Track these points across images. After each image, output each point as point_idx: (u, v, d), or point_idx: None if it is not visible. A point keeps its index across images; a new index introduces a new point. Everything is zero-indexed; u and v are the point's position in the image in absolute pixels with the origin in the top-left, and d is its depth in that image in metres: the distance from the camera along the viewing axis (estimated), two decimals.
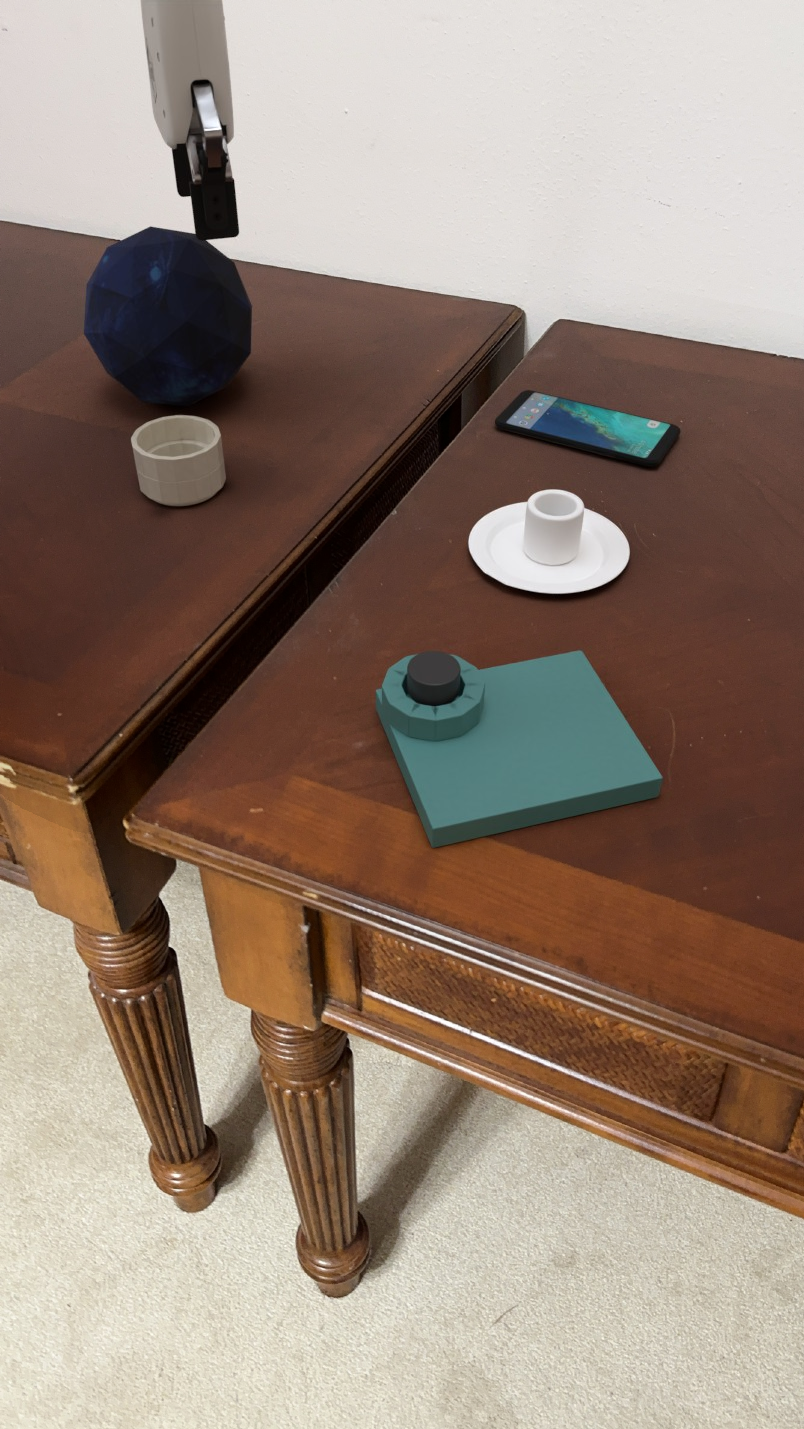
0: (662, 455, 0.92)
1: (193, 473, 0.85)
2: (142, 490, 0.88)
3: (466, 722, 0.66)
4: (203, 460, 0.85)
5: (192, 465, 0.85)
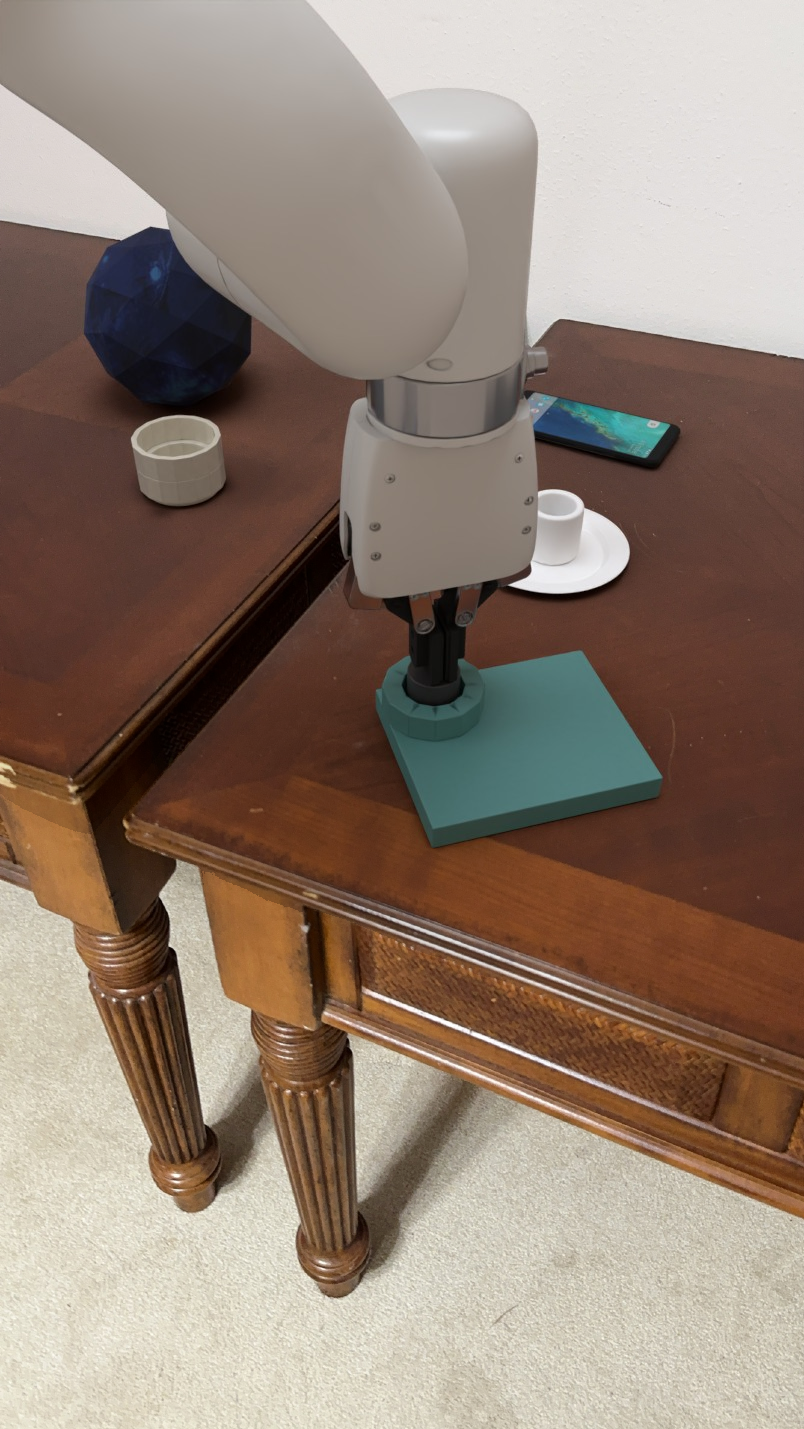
0: (662, 455, 0.92)
1: (193, 473, 0.85)
2: (142, 490, 0.88)
3: (466, 722, 0.66)
4: (203, 460, 0.85)
5: (192, 465, 0.85)
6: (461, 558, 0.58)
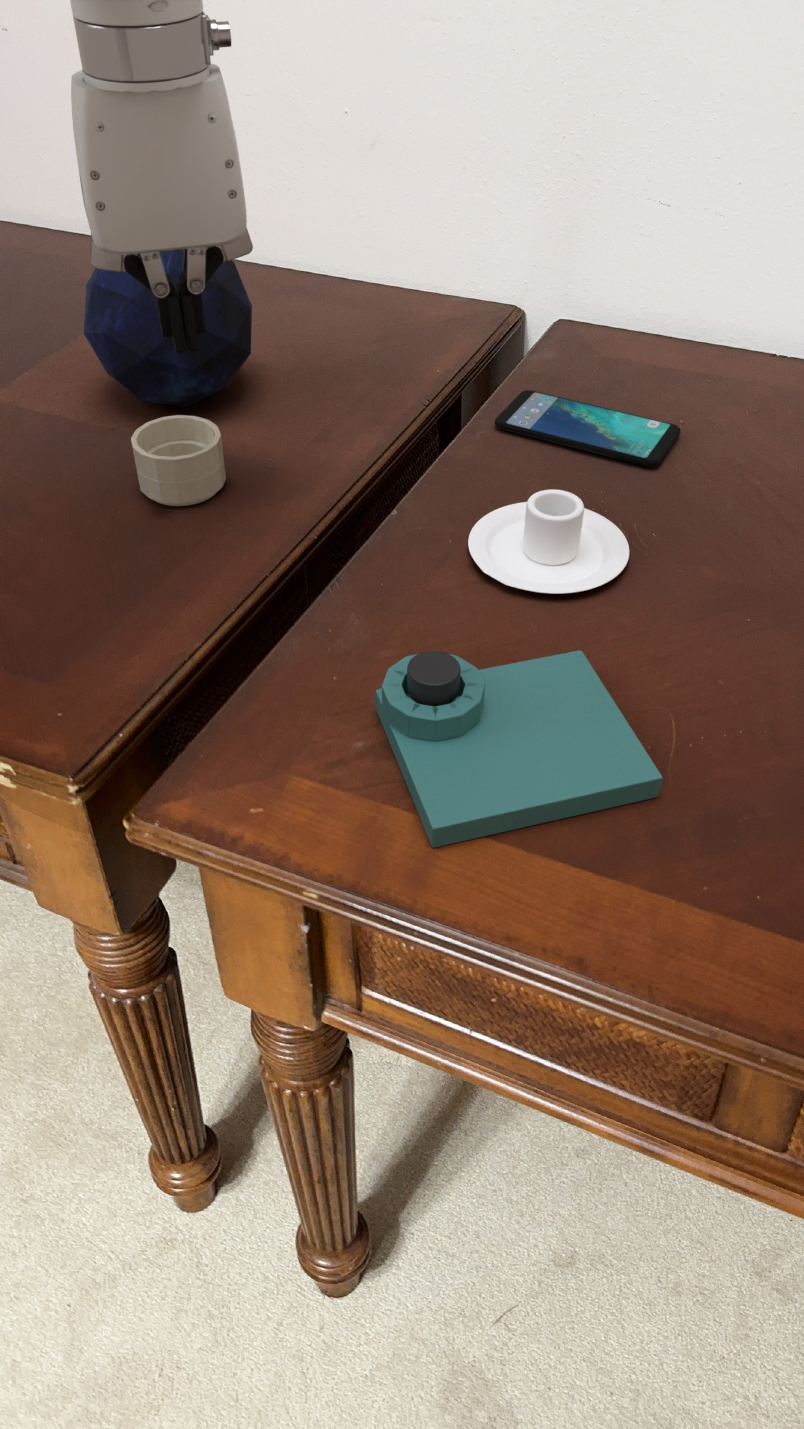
0: (662, 455, 0.92)
1: (193, 473, 0.85)
2: (142, 490, 0.88)
3: (466, 722, 0.66)
4: (203, 460, 0.85)
5: (192, 465, 0.85)
6: (177, 215, 0.70)
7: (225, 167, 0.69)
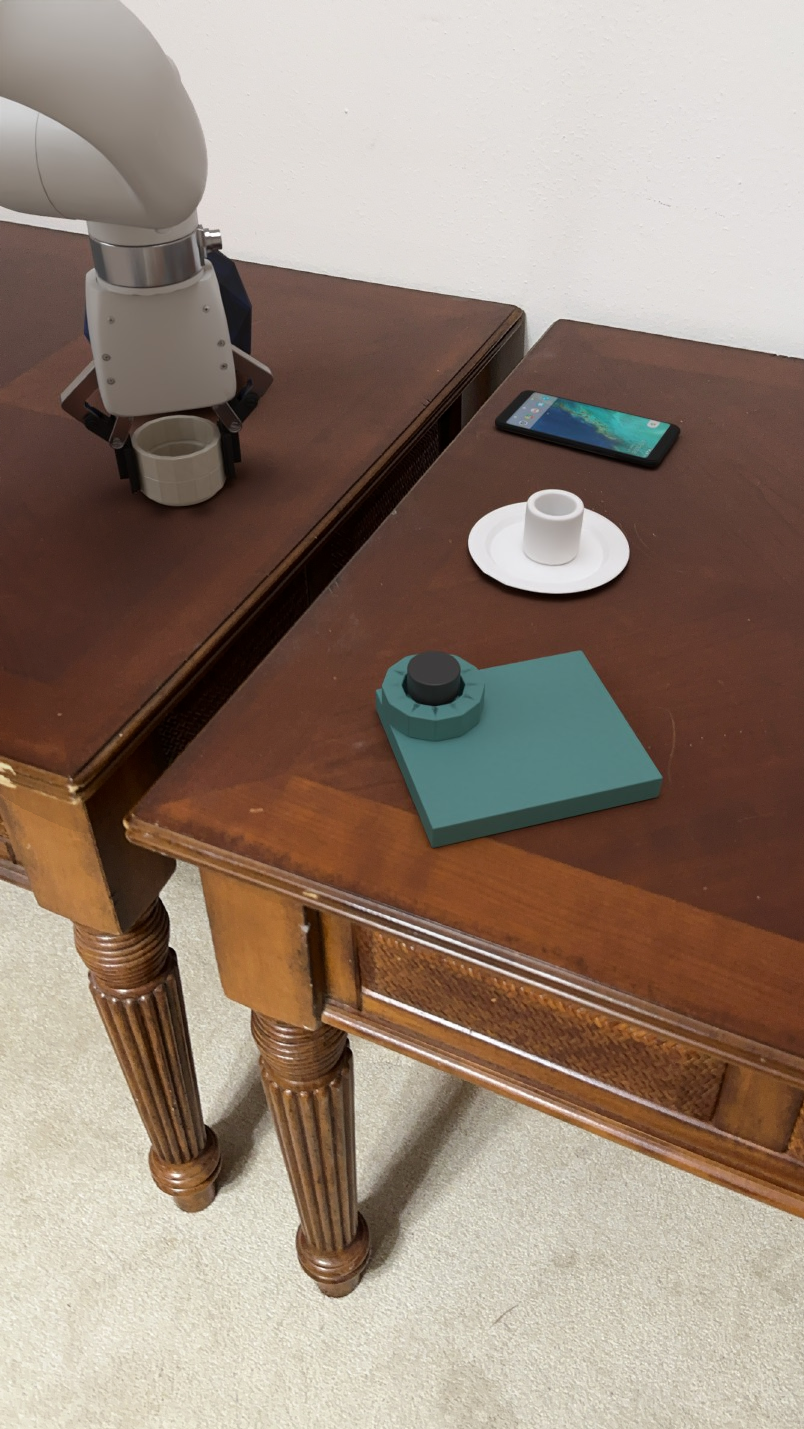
0: (662, 455, 0.92)
1: (193, 473, 0.85)
2: (142, 490, 0.88)
3: (466, 722, 0.66)
4: (203, 460, 0.85)
5: (192, 465, 0.85)
6: (176, 386, 0.81)
7: (217, 346, 0.80)
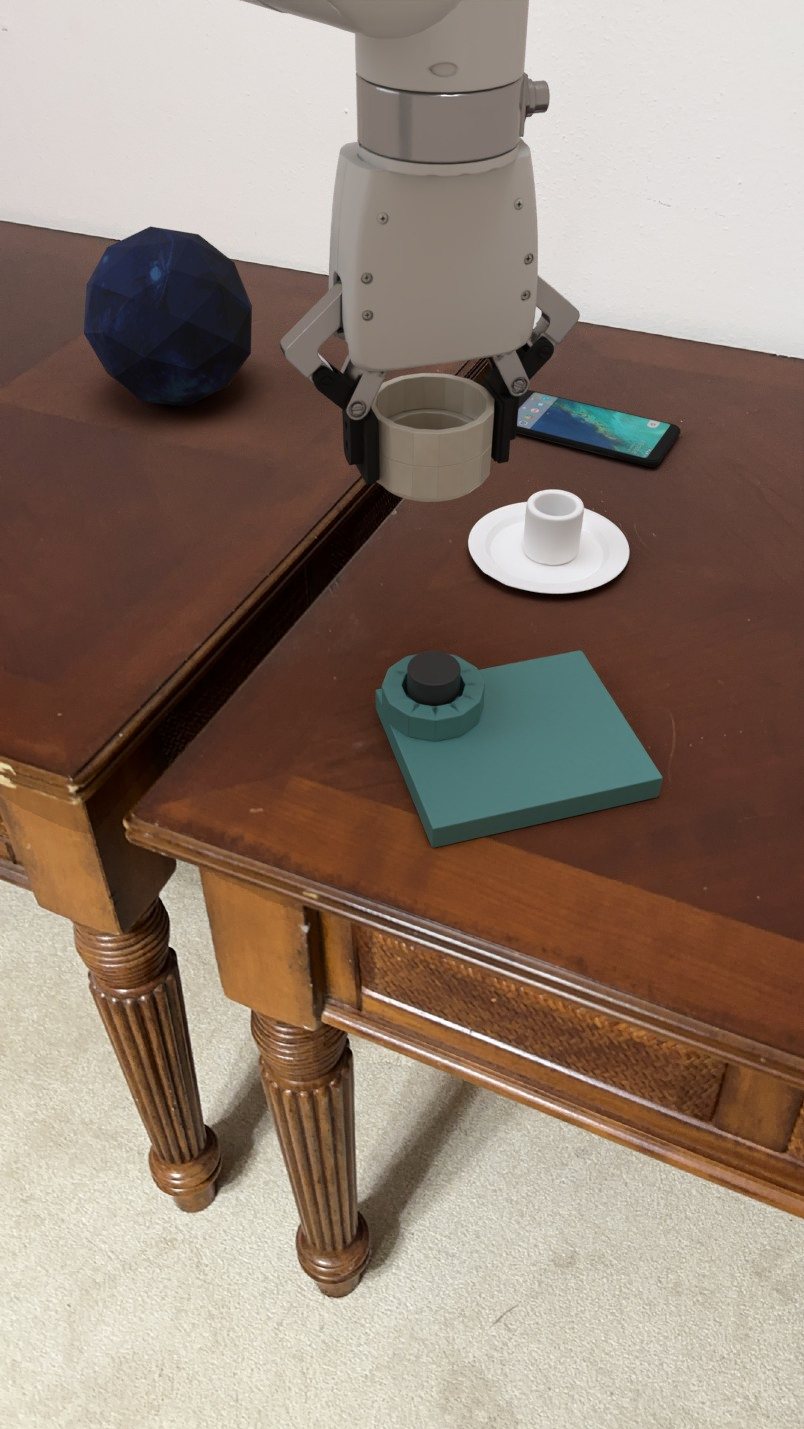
0: (662, 455, 0.92)
1: (463, 454, 0.59)
2: (379, 480, 0.61)
3: (466, 722, 0.66)
4: (477, 435, 0.59)
5: (463, 442, 0.58)
6: (457, 324, 0.55)
7: (523, 263, 0.54)
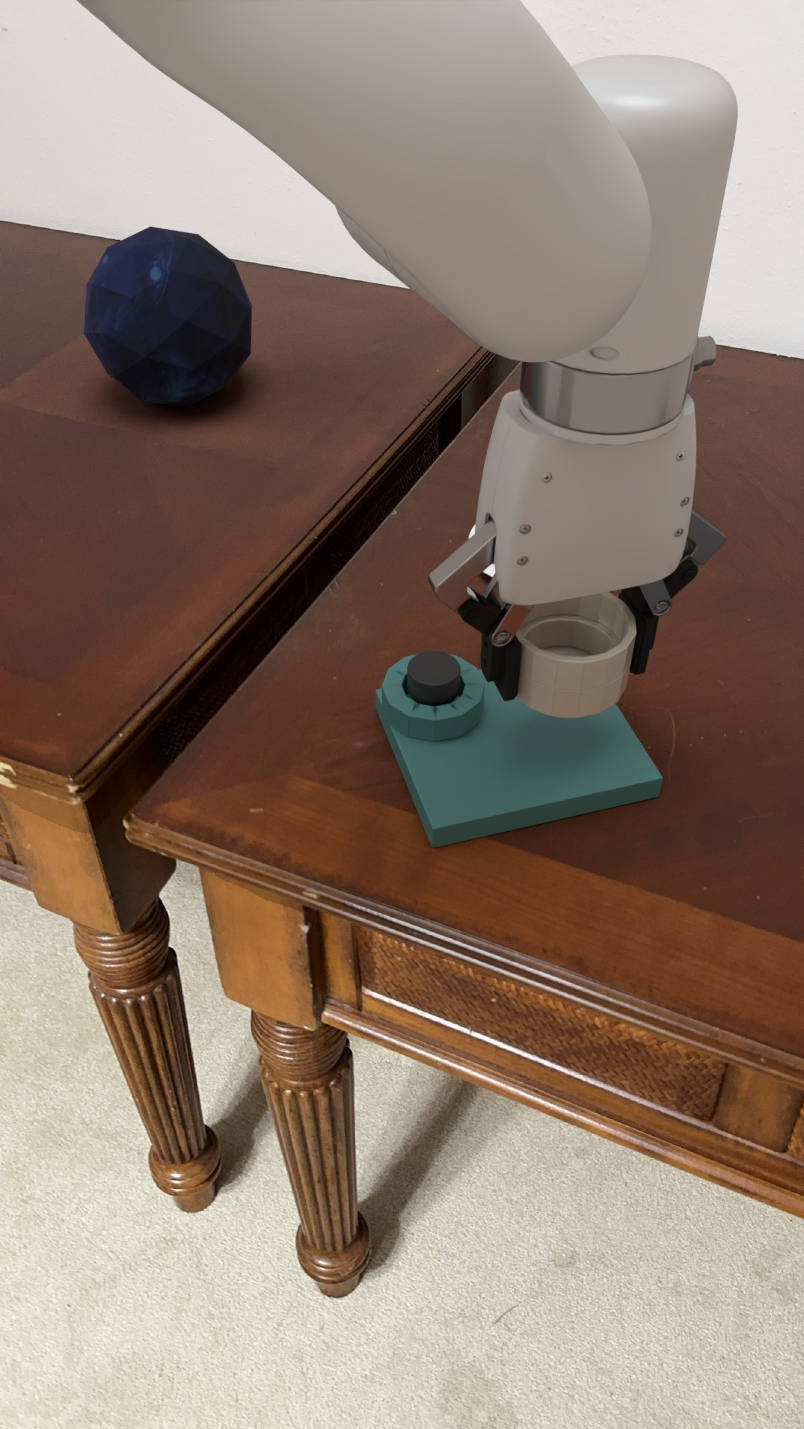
0: None
1: (605, 678, 0.58)
2: None
3: (466, 722, 0.66)
4: (621, 659, 0.58)
5: (607, 668, 0.58)
6: (609, 563, 0.54)
7: (679, 506, 0.53)
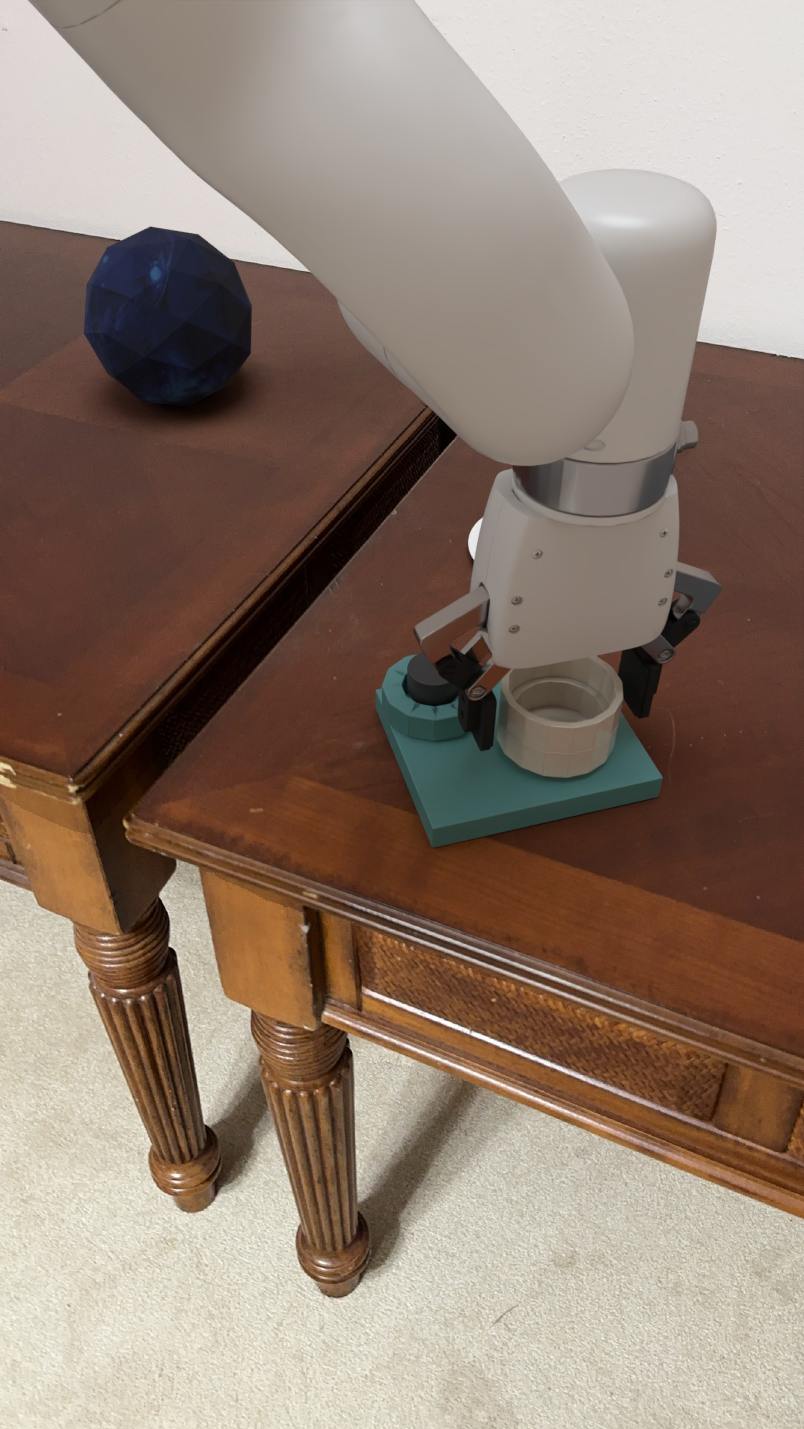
0: None
1: (594, 741, 0.61)
2: (509, 755, 0.64)
3: None
4: (608, 724, 0.61)
5: (595, 732, 0.61)
6: (597, 630, 0.57)
7: (663, 577, 0.56)
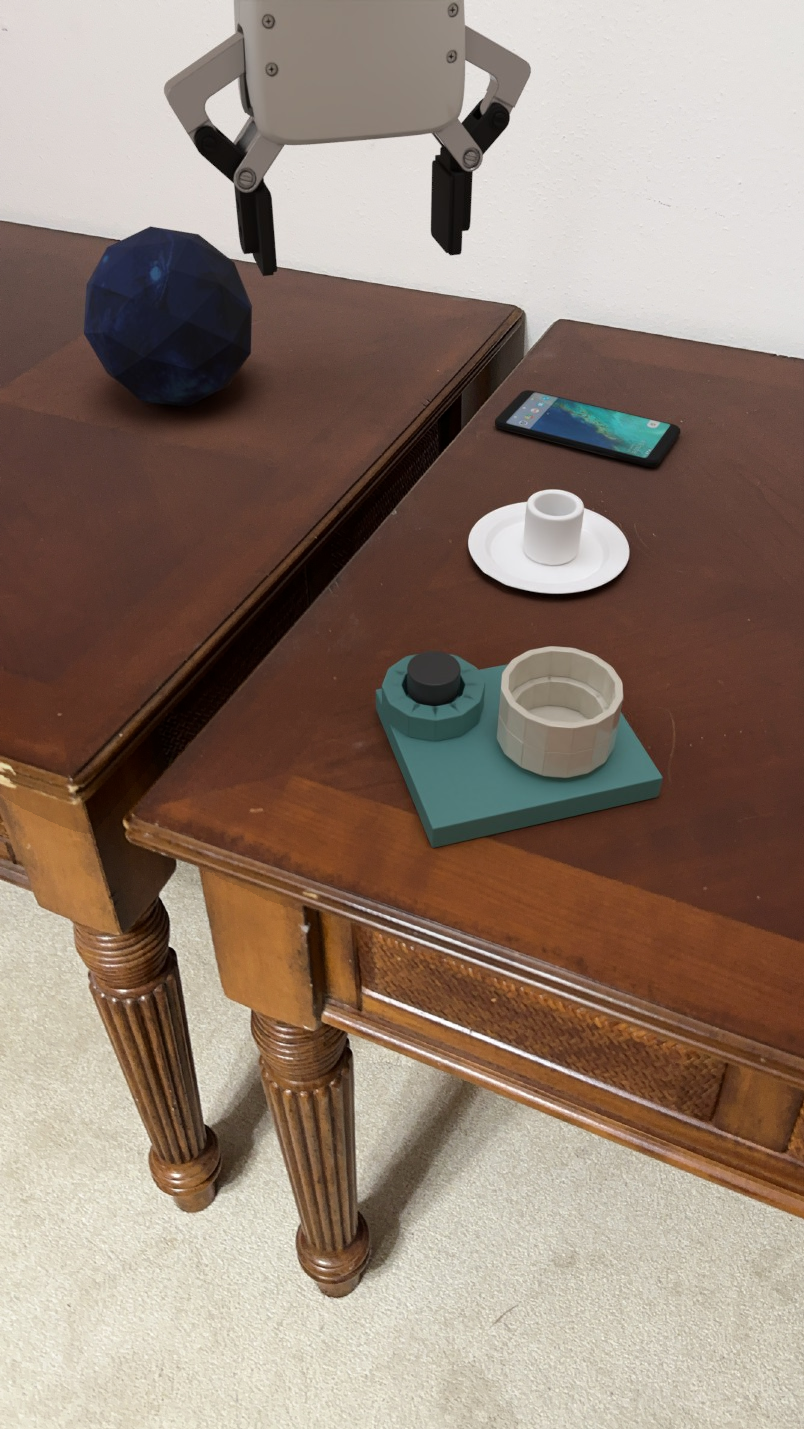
0: (662, 455, 0.92)
1: (594, 741, 0.61)
2: (509, 755, 0.64)
3: (466, 722, 0.66)
4: (608, 724, 0.61)
5: (595, 732, 0.61)
6: (375, 86, 0.49)
7: (447, 15, 0.49)
